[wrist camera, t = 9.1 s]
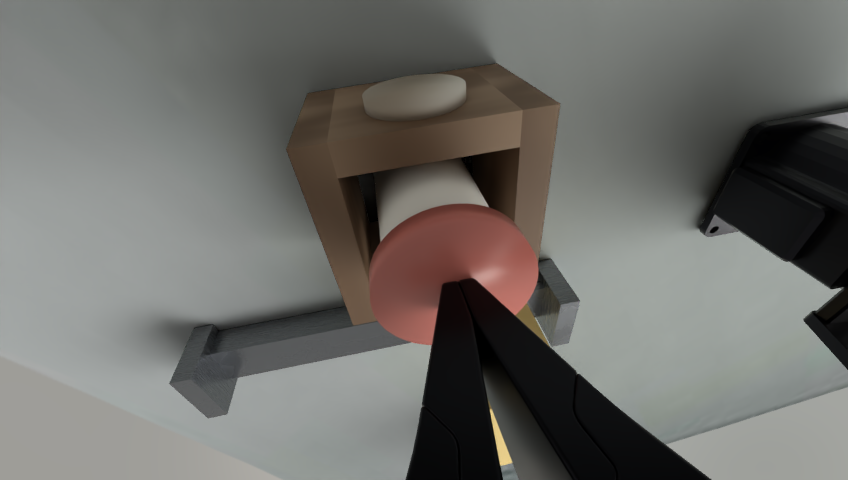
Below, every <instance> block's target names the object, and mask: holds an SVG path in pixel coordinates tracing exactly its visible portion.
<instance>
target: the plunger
mask: <svg viewBox="0 0 848 480" xmlns="http://www.w3.org/2000/svg"><path fill="white" fill-rule="evenodd" d="M374 180H375V191H376V201H377V211H378V221H379V232H380V244H379V245H378V247H377V248H376V250H375V252H374V254H373V257H372V260H371V262H370V268H369V289H370V304H371V308H372V311H373V314H374V316H375V318H376V319H377V321H378V322H379V323H380V324H381V325H382V327H383V328H384V329H386V330H387V331H388V332H390V333H391V334H393V335H395V336H396V337H398V338H401V339H403V340H406V341H409V342H413V343H418V344H425V345H432V341H433V335H434V329H435V323H436V317H437V311H438V305H439V299H440V293H441V287H442V284H443V283H447V282H452V281H457V282H459V281H460V280H463V279H468V278H474V279H476V280H477V281H478V282H479V283H480V284H481V285H482V286H484V287H485V288H486V289H487V290H488V291H489V292H490V293H491V294H492V295H493V296H495V297H496V298H497V299H498V300H499V301H500V302H501V303H502V304H503V305H504V306H506V307H507V308H508V309H509V310H510V311H511V312H512V313H513V314H514V315H516V314H517V313H518V312H519V311H520V310H521V309H522V308H523V307H524V306H525V304H526V303H527V302H528V300H529V299H530V297H531V295H532V294H533V292H534V289H535V287H536V284H537V280H538V271H539V268H538V261H537V258H536V255H535V253H534V251H533V249H532V248H531V246H530V244H529V243H528V241H527V240H526V238H525V237H524V235H523V234H522V232H521V230H520V229H519V227H518V226H517V225H516V224H515V223H514V222H513V221H512V220H511V219H510V218H509V217H507V216H506V215H504V214H503V213H501V212H499V211H497V210H495V209H492V208H490V207H489V206H488V204H487V203H486V201H485V199H484V197H483V196H482V194H481V192H480V190H479V189H478V187H477V185H476V183H475V182H474V180H473V178H472V176H471V175H470V173H469V171H468V169H467V168H466V166H465V164H464V163H463V161H462V159H461V157H459V158H454V159H448V160H442V161H436V162H430V163H425V164H419V165H413V166H407V167H401V168H396V169H390V170H384V171H378V172H374Z"/></svg>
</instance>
